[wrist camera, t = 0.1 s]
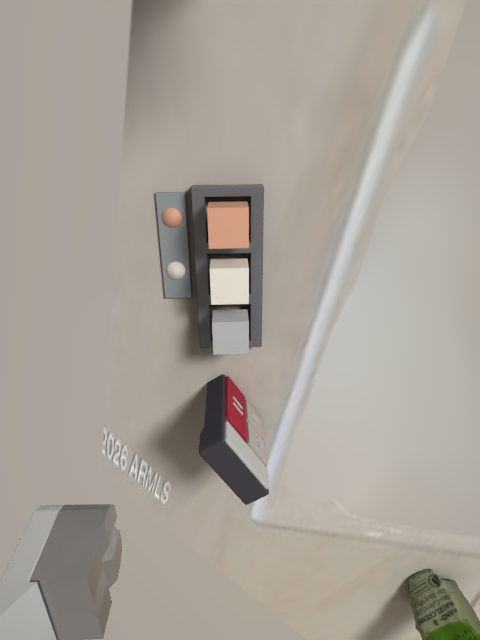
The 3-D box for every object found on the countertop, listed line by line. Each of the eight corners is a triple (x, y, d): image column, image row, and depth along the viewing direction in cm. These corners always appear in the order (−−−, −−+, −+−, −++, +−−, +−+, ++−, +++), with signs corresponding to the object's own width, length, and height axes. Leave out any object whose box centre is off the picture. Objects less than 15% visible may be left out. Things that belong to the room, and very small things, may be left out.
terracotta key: (208, 202, 50) (207, 208, 46) (247, 201, 50) (248, 207, 46) (210, 240, 52) (208, 248, 48) (247, 239, 52) (248, 248, 48)
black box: (265, 418, 68) (274, 493, 54) (242, 430, 69) (246, 506, 55) (227, 370, 64) (227, 438, 50) (203, 383, 65) (198, 453, 51)
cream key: (210, 259, 53) (209, 268, 49) (247, 258, 53) (248, 267, 50) (212, 293, 55) (211, 304, 51) (247, 292, 55) (248, 303, 51)
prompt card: (156, 192, 52) (155, 193, 52) (185, 192, 52) (184, 192, 52) (165, 297, 58) (164, 298, 58) (191, 296, 58) (191, 298, 58)
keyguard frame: (192, 185, 52) (191, 188, 50) (262, 184, 52) (263, 187, 50) (201, 339, 61) (200, 348, 59) (260, 338, 61) (261, 346, 59)
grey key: (212, 310, 56) (211, 322, 52) (247, 309, 56) (248, 321, 52) (214, 340, 58) (213, 354, 54) (247, 339, 58) (248, 353, 54)
